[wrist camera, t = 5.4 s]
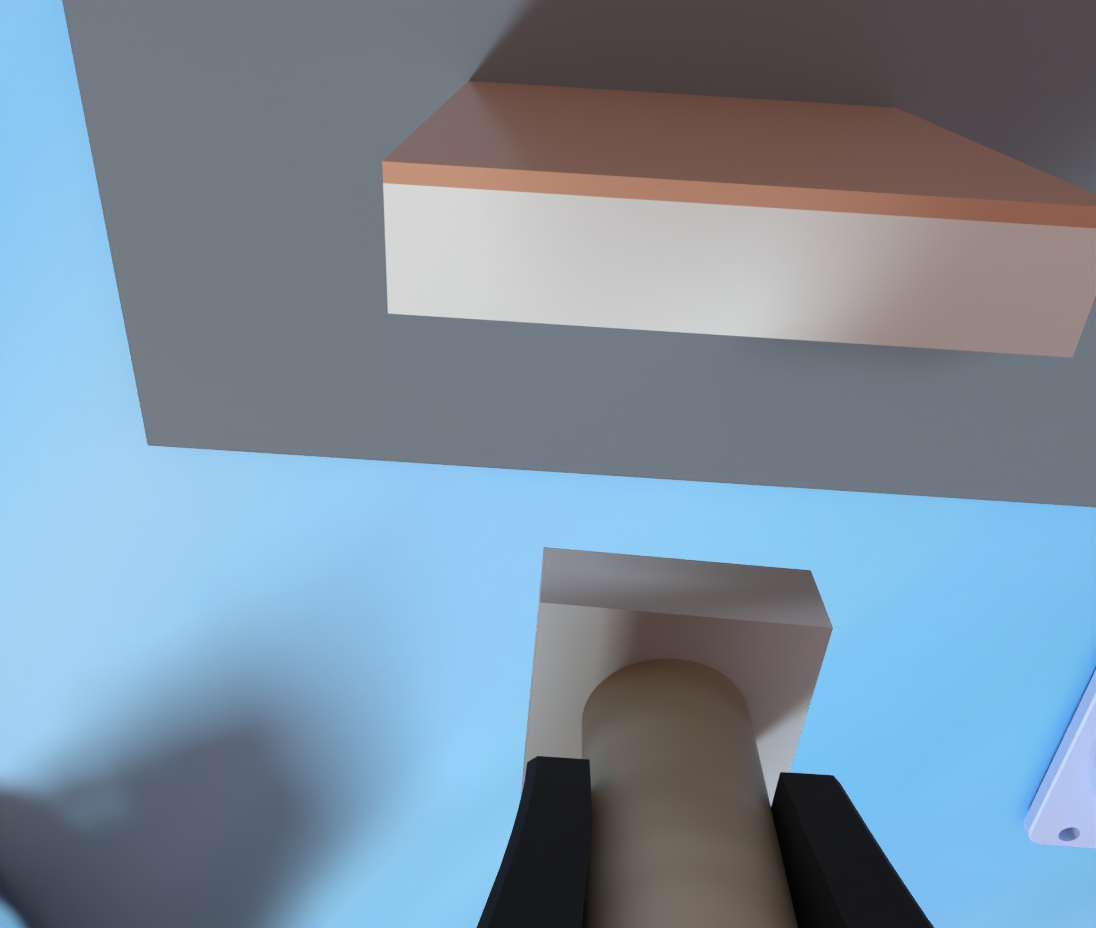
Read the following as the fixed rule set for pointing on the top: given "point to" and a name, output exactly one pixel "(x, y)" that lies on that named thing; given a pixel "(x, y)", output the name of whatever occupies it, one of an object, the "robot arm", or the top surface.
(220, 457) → the top surface
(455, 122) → the tile
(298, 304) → the mat
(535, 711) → the tamper
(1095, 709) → the robot arm
